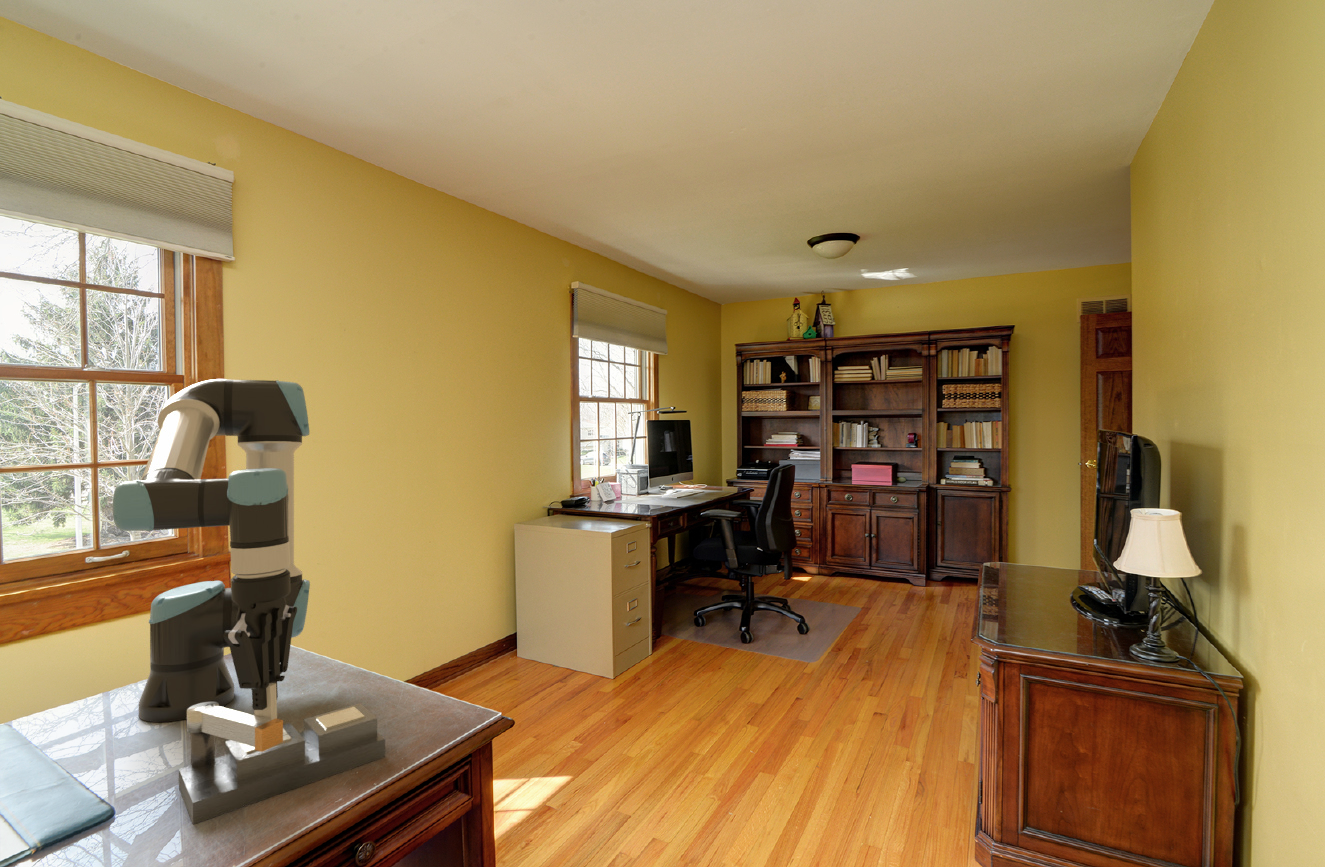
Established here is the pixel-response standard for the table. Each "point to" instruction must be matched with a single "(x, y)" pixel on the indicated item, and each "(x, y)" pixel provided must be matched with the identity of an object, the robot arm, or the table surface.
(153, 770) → the table surface
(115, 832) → the table surface
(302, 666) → the table surface
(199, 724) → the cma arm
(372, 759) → the grey stepped block base
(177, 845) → the table surface
